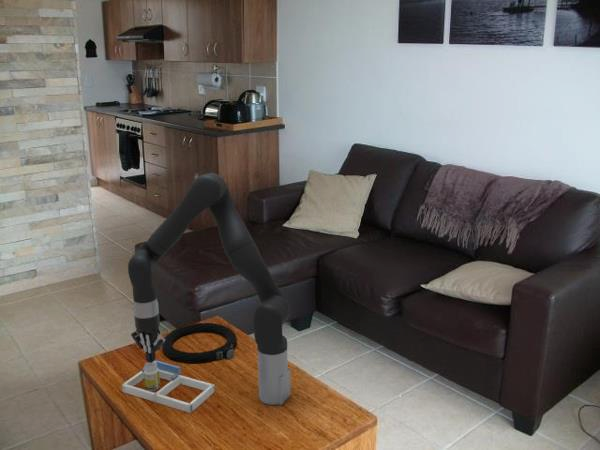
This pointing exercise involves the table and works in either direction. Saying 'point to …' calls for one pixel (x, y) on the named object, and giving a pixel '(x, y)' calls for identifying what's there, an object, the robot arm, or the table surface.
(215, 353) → the cable lock
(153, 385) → the supplement bottle
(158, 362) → the two-slot divided caddy
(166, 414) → the table surface
